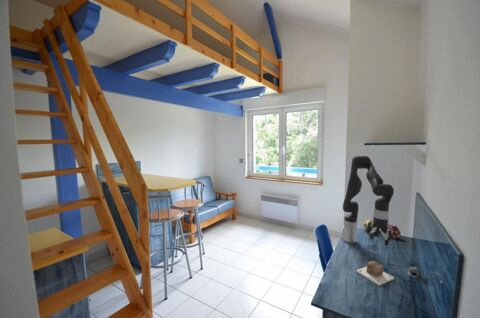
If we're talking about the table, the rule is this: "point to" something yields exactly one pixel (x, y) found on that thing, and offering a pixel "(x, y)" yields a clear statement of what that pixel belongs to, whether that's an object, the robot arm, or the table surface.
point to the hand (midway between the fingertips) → (379, 242)
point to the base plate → (378, 280)
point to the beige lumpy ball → (367, 224)
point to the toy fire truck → (394, 231)
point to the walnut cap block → (375, 269)
